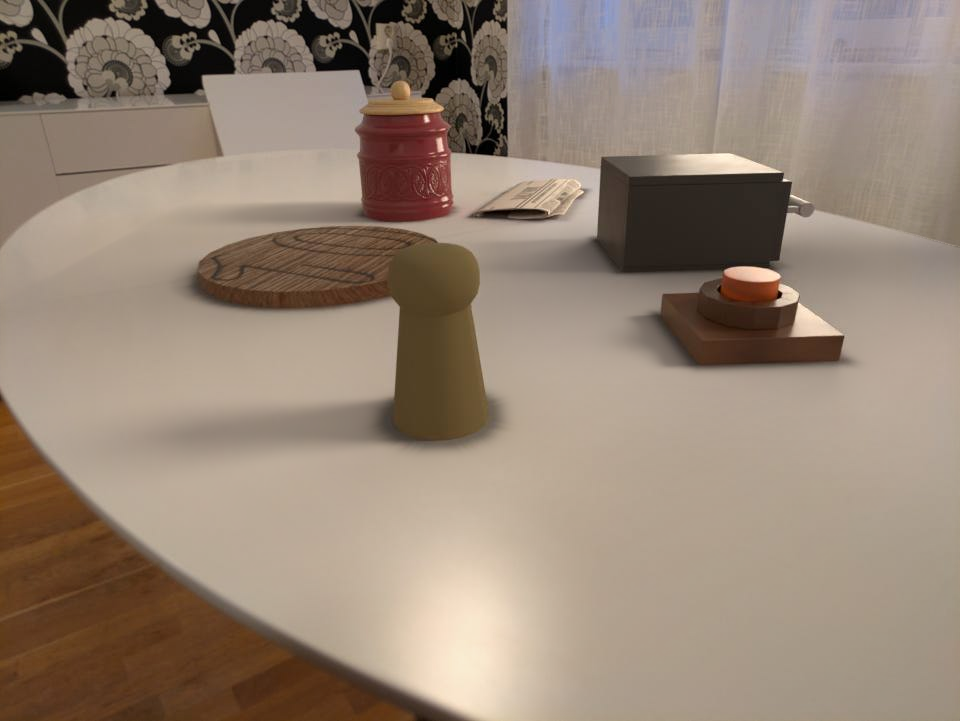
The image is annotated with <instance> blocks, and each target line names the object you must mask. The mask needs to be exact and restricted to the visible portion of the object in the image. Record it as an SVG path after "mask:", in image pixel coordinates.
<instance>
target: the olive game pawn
mask: <svg viewBox="0 0 960 721" xmlns="http://www.w3.org/2000/svg"><path fill="white" fill-rule="evenodd" d="M387 281H388V288H389V291H390V293H391V295H390V296H391V298H392V299H393V301H394V302H395V303H396V304H397V305H398V307H399V314H398V327H397V328H398V330H397V346H396V347H397V348H396V362H395V380H394V396H393V413H392V422H393V424H394V427H395V428H396V429H397V430H398V431H399V432H401V433H402V434H403V435H406V436H408V437H411V438H414V439H417V440H422V441H423V440H424V441H431V442H437V441H439V442H440V441H451V440H456V439H460V438H465V437H467V436H469V435H472V434H474V433H477V432H478V431H479V430H481V429H482V428H483V427H485V425H487V422H488V421H489V419H490V414H489V413H490V412H489V405H488V399H487V392H486V387H485V381H484V374H483V369H482V363H481V358H480V357H481V356H480V351H479V345H478V338H477V334H476V327H475V321H474V315H473V314H474V313H473V309H472V303H473V301H474V300H475V299H476V297H477V295H478V293H479V289H480V285H481V272H480V266H479V263H478V259H477V258H476V257H475V255H474V254H473V252H472V251H471V250H469V249H468V248H467V247H465V246H463V245H459V244H455V243H449V242H438V243H423V244H417V245H412V246H409V247H406V248H403V249H402V250H400V251H399V252H397V253H396V254H394V256H393V258H392V260H391V262H390V264H389V268H388V274H387Z"/></svg>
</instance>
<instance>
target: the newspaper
mask: <svg viewBox="0 0 960 721" xmlns="http://www.w3.org/2000/svg"><path fill="white" fill-rule="evenodd" d="M580 188H581V183H580V182H579V181H577V180H576V179H575V178H574V179H573V178H550V179H538V180H537V179H536V180H526V181H522V182H521V181H520V182H519V183H517V184H515V185H514V186H512V187H511V188H510V189H509V188H508V190H507V191H504V192H503V193H502V194H500V195H499V196H498V197H496V198H494V199H493V200H491V201H490V202H489V203H487V204H486V205H484V206H483V207H481V208H479V209H478V210H476V211H475V212H474V213H473V217H474V218H475V217H483V216H484V215H486V214H487V213H489V212H493V211H494V212H495V211H510V213H509V214H508V215H507V217H506V218H507V219H516V220H517V219H518V220H535V219H546V218H549V217H552V216H556V215H557V216H558V215H565V213H566V212H567V211H568V209H569V208H570V206H571V205H572V204H573V202H574V201H575V199H577V198H578V197H579V196H581V195H582V194H583V193H585V191H584V190H582V189H580Z"/></svg>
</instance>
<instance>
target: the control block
mask: <svg viewBox="0 0 960 721" xmlns="http://www.w3.org/2000/svg"><path fill="white" fill-rule="evenodd" d="M721 284H722V277H721V278H720V277H719V278H716V279H712V280H707V281H705V282H704V283H703V284H702V285H701V286H700V288H699V290H698V292H677V293H662V294H661V302H660V304H661V305H660V313H659V316H660V317H661V319H662V320H663V321H664V323H665V324H666V325H667V327H669V329H670V330H671V331H672V332H673V334H674V335H675V337H676V339H678V340H679V342H680V343H681V344H682V346H684V348H685V350H686V351H687V352H688V353H689V355H690V356H691V357H692V358H693V360H694V361H695V362H696V363H697V365H698V366H718V365H719V366H720V365H721V366H722V365H751V364H780V363H781V364H783V363H786V364H787V363H811V362H812V363H814V362H815V363H816V362H839V361H840V360H841V359H840V358H841V354H842V349H843V345H844V340H845V335H844V334H843V333H842V332H840V331H839V330H838V329H836V328H835V327H833V326H832V325H830V324H829V323H828V322H826V321H825V320H824V319H823V318H821V317H819V315H817V314H815V313H814V312H812V311H811V310H810V309H808V308H807V307H806V306H805V305H803V304H802V303H800V296H801V295H800V293H799V292H798V291H796V290H794V289H793V288H792V287H790V286H788V285H785V284H782V283H780V284H779V290H778V295H777V299H776V300H773V301H769V302H750V301H742V300H735V299H731V298H728V297H725V296H722V295H721V294H720V291H721Z"/></svg>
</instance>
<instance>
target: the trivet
mask: <svg viewBox="0 0 960 721" xmlns="http://www.w3.org/2000/svg"><path fill="white" fill-rule="evenodd" d="M423 243H439V241H438V240H436V238H434V237H432V236H429V235H427V234H424V233H422V232H418V231H414V230H413V231H412V230H408V229H405V228H396V227H387V226H373V225H334V226H333V225H332V226H331V225H330V226H319V227H318V226H317V227H308V228H307V227H306V228H297V229H291V230H284V231H277V232H270V233H267V234H261V235H257V236H253V237H248V238H244V239H242V240H238V241H235V242H232V243H229V244H226V245H224V246H222V247H219V248H217V249H215V250H213V251H211V252H209V253H208V254H206V255H205V256H204V257H202V258H201V259H200V260H199V261H198V266H197V268H196V272H197V277H198V283H199V286H200V287H201V288H202V290H203V291H204V292H205V293H206V294H207V295H209V296H211V297H213V298H215V299H218V300H220V301H223V302H227V303H231V304H236V305H241V306H246V307H247V306H248V307H255V308H257V307H259V308H274V309H305V308H322V307H323V308H324V307H331V306H333V307H334V306H340V305H341V306H342V305H347V304H348V305H349V304H350V305H351V304H356V303H361V302H367V301H373V300H376V299H381V298H386V297H390V296H391V293H390V291H389V288H388V281H387V274H388V268H389V264H390V262H391V260H392V258H393V256H394V254H396V253H397V252H399V251H400V250H402V249H403V248H406V247H409V246H412V245H417V244H423Z"/></svg>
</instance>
